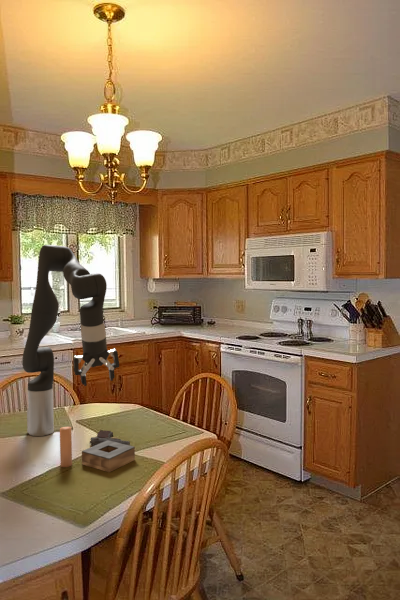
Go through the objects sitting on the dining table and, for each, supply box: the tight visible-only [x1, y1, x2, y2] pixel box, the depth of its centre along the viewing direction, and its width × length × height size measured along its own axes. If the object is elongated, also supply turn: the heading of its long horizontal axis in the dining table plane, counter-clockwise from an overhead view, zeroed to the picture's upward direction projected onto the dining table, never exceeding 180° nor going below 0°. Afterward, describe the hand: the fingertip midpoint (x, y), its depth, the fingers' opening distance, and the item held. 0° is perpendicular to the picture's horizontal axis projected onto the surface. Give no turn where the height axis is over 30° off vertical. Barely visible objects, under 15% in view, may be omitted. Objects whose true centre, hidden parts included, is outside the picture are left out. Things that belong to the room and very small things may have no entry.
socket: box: [81, 440, 136, 473], centre depth 159 cm, size 12×12×4 cm
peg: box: [59, 426, 73, 468], centre depth 157 cm, size 4×4×12 cm
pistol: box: [89, 429, 131, 446], centre depth 178 cm, size 3×15×12 cm
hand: (98, 382), depth 158 cm, fingers open, 8 cm apart
